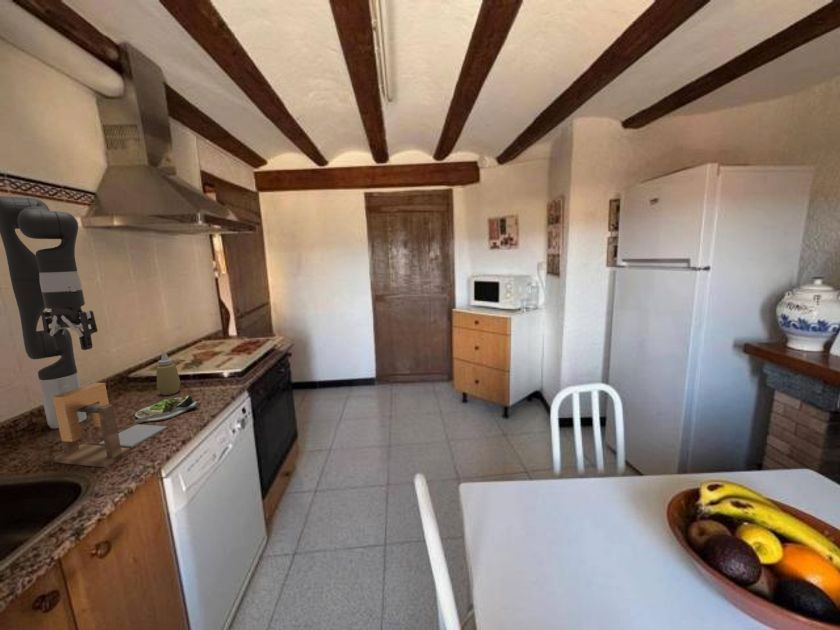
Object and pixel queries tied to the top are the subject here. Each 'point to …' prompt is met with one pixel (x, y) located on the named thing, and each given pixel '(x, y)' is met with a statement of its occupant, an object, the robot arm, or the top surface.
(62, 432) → the link
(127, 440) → the mat
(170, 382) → the squeeze bottle
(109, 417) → the stand
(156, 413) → the salad plate
